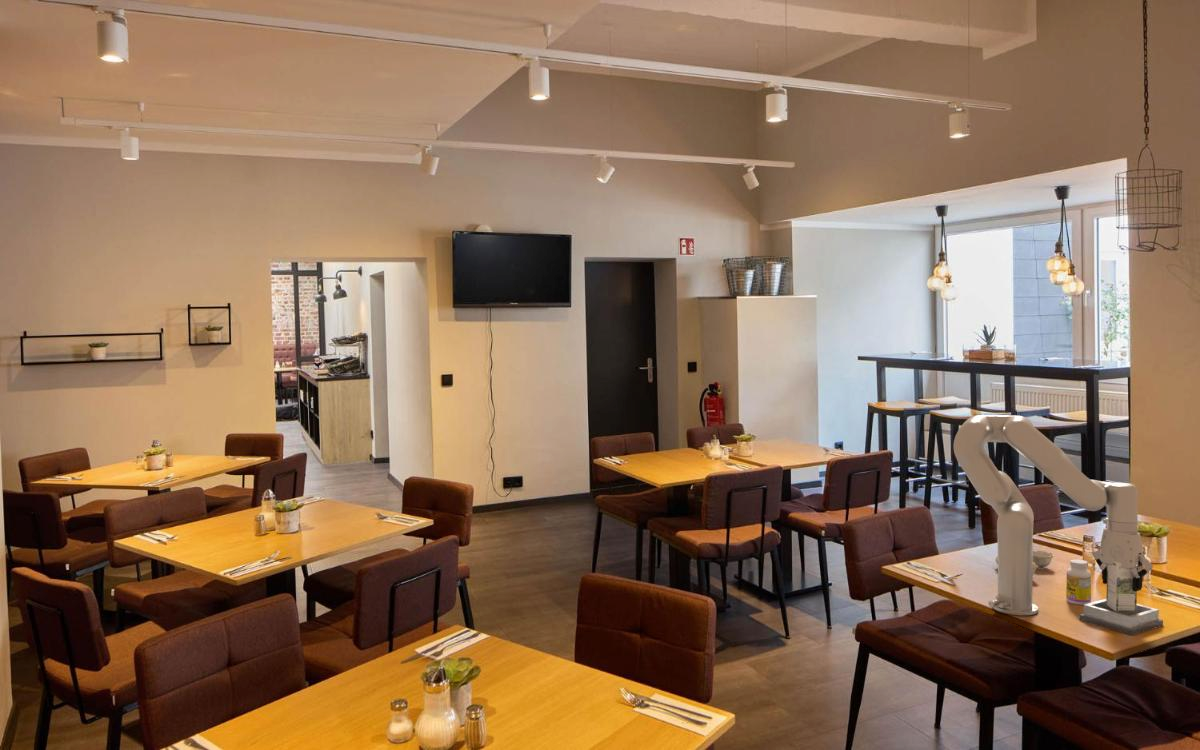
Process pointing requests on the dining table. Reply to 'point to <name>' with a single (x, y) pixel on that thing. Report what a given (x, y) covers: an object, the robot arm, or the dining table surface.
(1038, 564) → the chinaware
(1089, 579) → the supplement bottle
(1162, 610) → the dining table surface
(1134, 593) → the syrup box
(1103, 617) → the pocket base
